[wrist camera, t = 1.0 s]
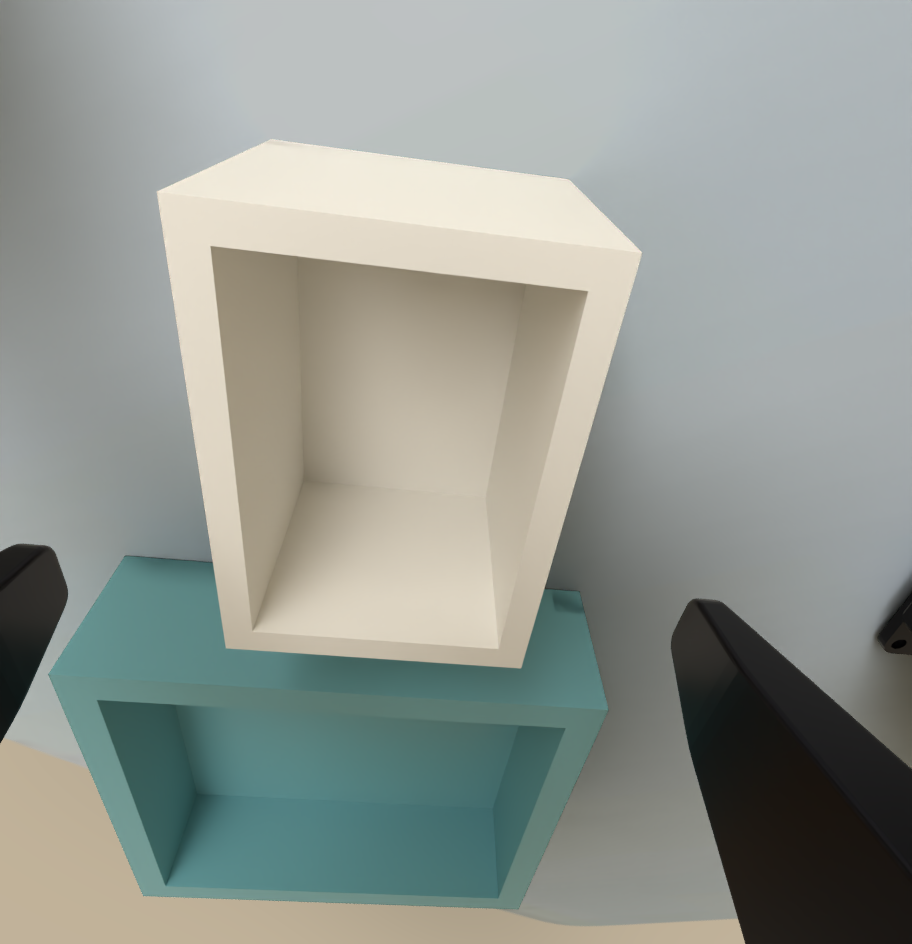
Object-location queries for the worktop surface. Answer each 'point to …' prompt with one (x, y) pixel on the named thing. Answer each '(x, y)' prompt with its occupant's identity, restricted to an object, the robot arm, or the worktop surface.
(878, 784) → the robot arm
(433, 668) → the big crate
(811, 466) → the worktop surface
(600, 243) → the small crate
